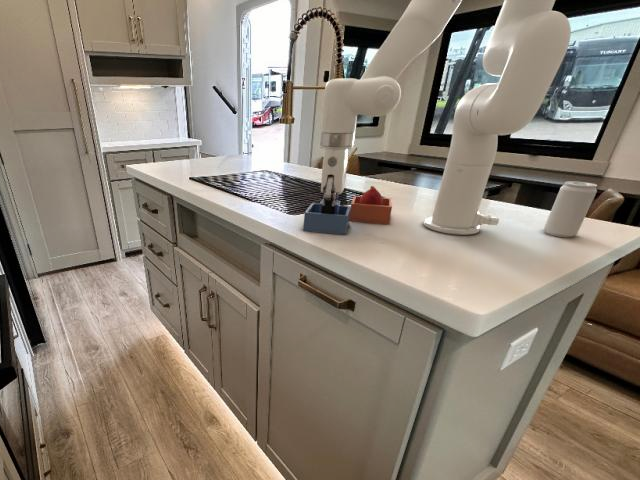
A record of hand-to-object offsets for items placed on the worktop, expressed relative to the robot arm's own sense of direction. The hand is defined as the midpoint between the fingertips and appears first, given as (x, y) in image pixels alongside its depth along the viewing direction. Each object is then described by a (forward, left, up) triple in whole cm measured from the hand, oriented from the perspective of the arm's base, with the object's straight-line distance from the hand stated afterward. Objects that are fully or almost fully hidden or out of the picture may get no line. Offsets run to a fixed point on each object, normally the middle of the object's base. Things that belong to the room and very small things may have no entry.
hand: (328, 218), depth 91 cm
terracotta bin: (-10, -13, -2) cm, 16 cm away
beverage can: (-54, -13, -2) cm, 55 cm away
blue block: (0, 0, 0) cm, 0 cm away
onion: (-9, -13, -2) cm, 16 cm away
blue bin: (0, 0, -2) cm, 2 cm away
